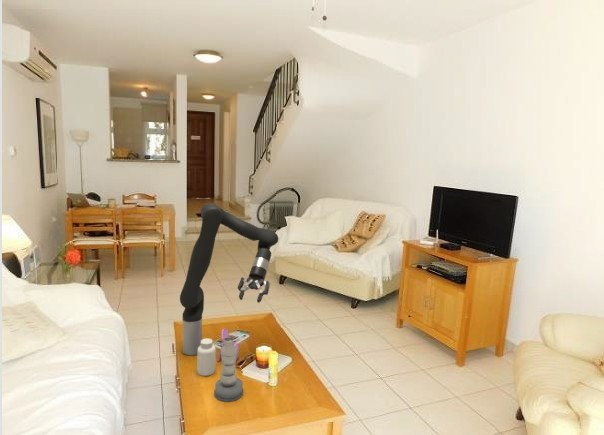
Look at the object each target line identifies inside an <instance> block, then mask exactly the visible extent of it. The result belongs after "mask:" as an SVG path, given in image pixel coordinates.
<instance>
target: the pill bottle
mask: <svg viewBox="0 0 604 435" xmlns="http://www.w3.org/2000/svg"><path fill="white" fill-rule="evenodd" d="M213 342H214V341H213V339H212V338H207V337H206V338H202V340H201V345H200V346H199V347H198V350H197V354H196V355H197V356H196V357H197V361H196V362H197V364H196V365H197V366H196V367H197V368H196V370H197V372H196V373H197V374H198V375H199V376H202V377H203V376H204V377H208V376H211V375H213V374H214V373H215V372H216V353H217V352H216V350H217V349H216V347H215V345H214V344H213Z"/></svg>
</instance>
